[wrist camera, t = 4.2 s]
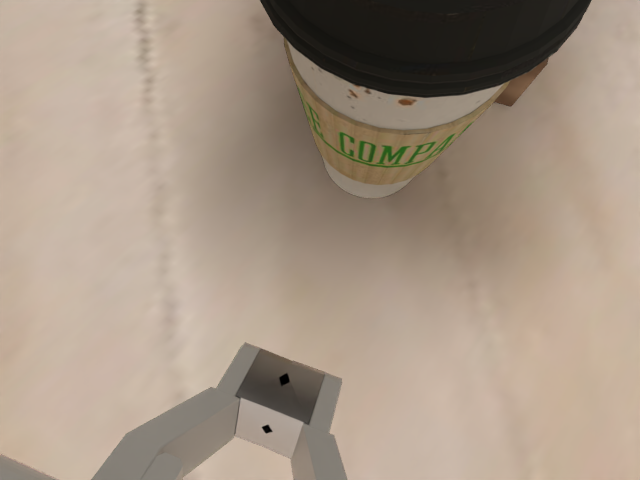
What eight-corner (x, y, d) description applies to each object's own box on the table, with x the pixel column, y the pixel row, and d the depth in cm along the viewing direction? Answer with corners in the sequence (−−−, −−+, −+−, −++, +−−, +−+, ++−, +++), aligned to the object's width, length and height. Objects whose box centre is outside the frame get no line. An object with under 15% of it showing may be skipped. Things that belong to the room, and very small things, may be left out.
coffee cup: (268, 189, 23) (159, -46, 8) (332, 65, 25) (335, -307, 10) (414, 252, 22) (590, 109, 7) (470, 117, 24) (698, -217, 9)
